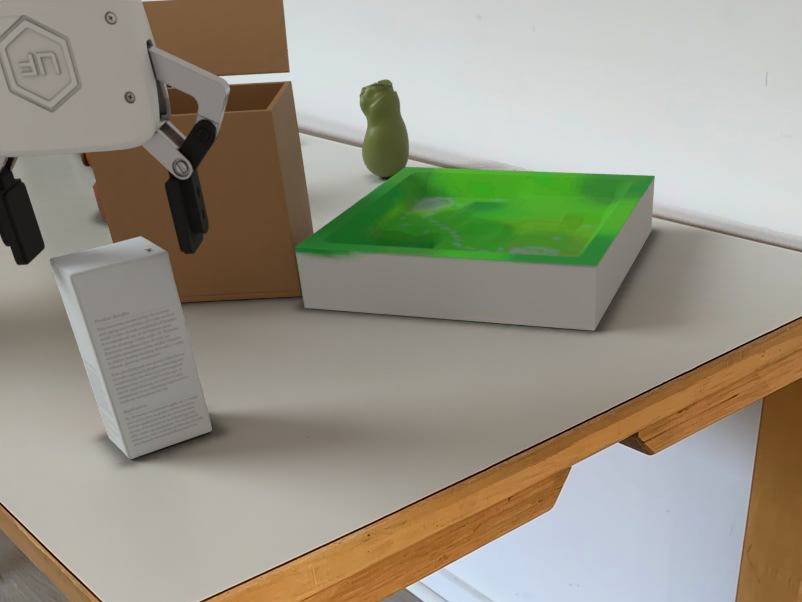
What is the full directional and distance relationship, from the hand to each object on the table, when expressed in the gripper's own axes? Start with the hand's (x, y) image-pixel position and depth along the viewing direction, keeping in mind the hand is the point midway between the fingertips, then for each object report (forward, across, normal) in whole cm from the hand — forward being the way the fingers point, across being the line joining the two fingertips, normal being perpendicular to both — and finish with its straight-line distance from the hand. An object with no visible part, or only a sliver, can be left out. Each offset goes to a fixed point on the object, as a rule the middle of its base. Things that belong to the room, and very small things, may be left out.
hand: (112, 252), depth 58 cm
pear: (+12, +12, +63) cm, 65 cm away
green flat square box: (+12, +22, +30) cm, 40 cm away
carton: (+12, -2, +31) cm, 33 cm away
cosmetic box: (+12, 0, 0) cm, 12 cm away
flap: (-6, -1, +38) cm, 39 cm away
